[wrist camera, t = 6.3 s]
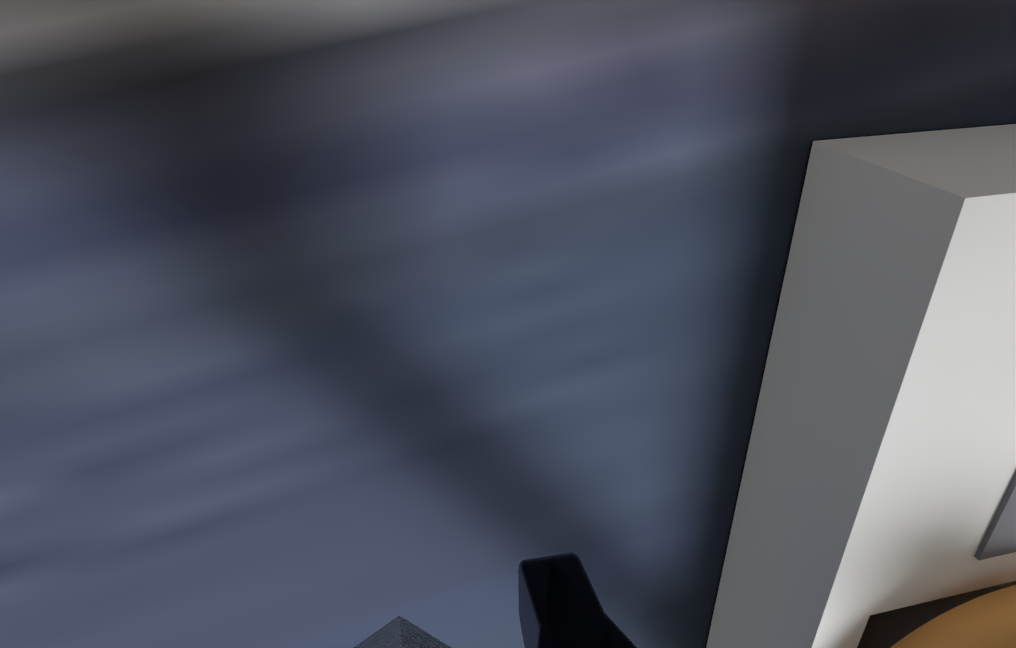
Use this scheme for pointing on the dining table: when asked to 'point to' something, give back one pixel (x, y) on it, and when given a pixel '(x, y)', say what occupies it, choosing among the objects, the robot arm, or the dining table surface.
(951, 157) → the power strip
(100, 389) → the dining table surface
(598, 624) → the robot arm
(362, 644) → the clip
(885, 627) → the plug
